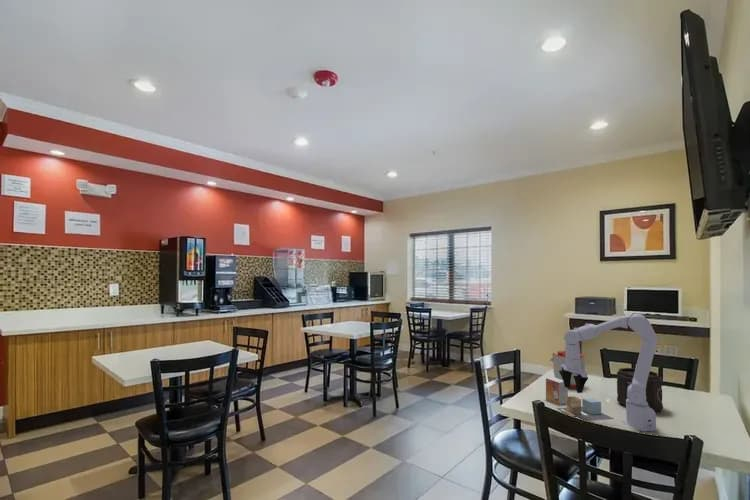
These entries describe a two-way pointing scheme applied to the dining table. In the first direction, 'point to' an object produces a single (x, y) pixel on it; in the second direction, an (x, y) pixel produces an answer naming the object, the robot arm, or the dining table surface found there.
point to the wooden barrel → (652, 388)
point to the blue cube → (591, 406)
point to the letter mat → (586, 415)
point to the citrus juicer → (561, 360)
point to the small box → (556, 390)
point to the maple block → (573, 405)
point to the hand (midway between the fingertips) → (573, 389)
